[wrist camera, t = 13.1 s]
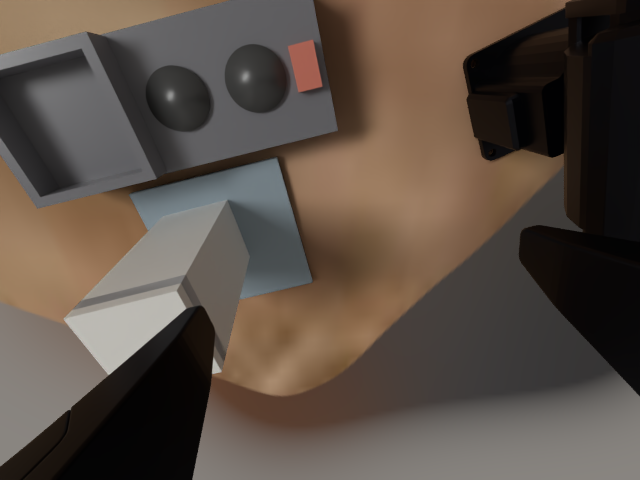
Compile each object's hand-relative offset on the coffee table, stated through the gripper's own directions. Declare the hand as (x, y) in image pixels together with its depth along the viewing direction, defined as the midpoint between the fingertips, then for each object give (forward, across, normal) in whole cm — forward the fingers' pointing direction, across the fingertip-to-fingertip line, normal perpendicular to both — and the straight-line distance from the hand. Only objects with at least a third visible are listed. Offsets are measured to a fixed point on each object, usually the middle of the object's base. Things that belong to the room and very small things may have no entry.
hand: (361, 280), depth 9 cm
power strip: (+13, +7, -6) cm, 16 cm away
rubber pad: (+13, +7, +3) cm, 15 cm away
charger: (+13, +9, +3) cm, 15 cm away
